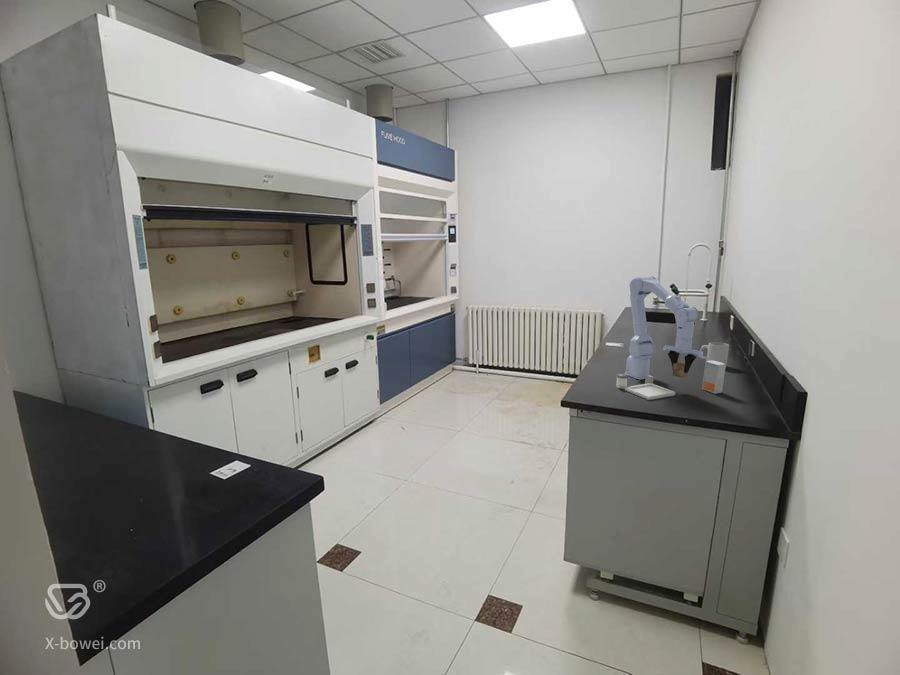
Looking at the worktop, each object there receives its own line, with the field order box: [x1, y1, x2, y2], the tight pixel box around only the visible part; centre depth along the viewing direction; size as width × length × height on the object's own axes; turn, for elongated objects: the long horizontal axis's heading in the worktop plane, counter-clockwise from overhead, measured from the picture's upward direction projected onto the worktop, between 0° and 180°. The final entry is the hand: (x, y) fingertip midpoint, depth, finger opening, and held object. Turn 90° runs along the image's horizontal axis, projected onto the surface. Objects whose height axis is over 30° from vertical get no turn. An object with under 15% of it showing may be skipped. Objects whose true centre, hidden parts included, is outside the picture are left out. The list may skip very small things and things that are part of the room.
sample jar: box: [615, 373, 629, 390], centre depth 184 cm, size 4×4×5 cm
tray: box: [624, 383, 676, 401], centre depth 177 cm, size 12×14×1 cm
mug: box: [699, 341, 730, 369], centre depth 214 cm, size 12×8×11 cm
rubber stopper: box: [644, 377, 654, 384], centre depth 187 cm, size 3×3×3 cm
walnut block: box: [671, 361, 689, 379], centre depth 177 cm, size 4×4×5 cm
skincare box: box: [701, 360, 727, 394], centre depth 178 cm, size 6×4×12 cm
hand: (680, 371), depth 177 cm, fingers closed on walnut block, 4 cm apart
